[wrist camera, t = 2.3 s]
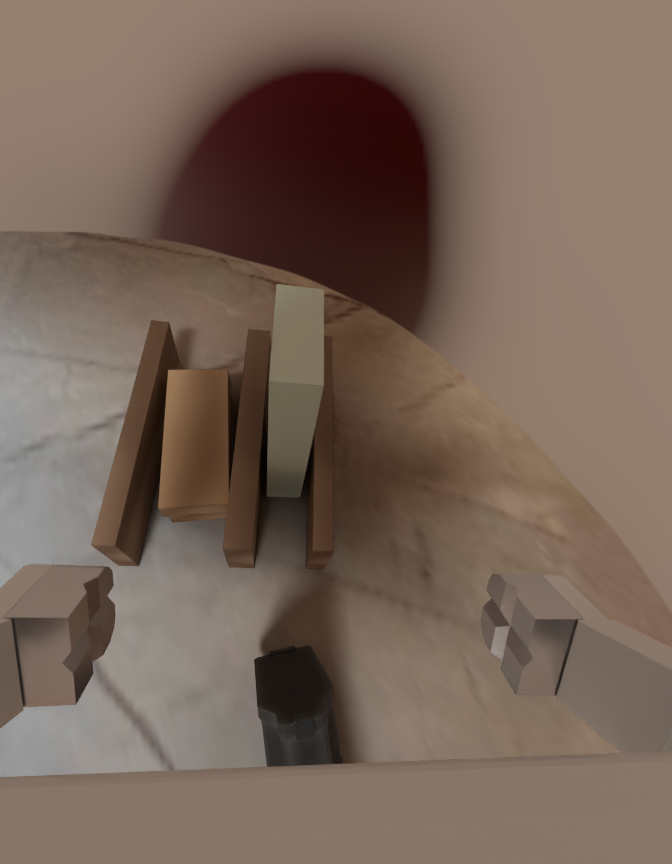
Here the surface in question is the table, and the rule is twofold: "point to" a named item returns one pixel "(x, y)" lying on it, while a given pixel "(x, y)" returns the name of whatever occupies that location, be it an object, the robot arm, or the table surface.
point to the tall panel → (294, 386)
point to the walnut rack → (143, 451)
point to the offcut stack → (196, 445)
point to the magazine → (296, 709)
